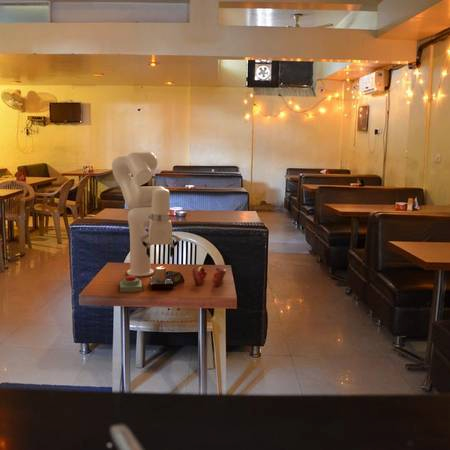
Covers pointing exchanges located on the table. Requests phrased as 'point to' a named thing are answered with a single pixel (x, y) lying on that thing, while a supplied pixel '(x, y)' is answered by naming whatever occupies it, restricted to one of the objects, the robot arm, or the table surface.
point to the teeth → (201, 274)
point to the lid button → (130, 278)
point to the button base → (130, 285)
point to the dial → (160, 273)
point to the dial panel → (160, 284)
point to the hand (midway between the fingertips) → (160, 256)
